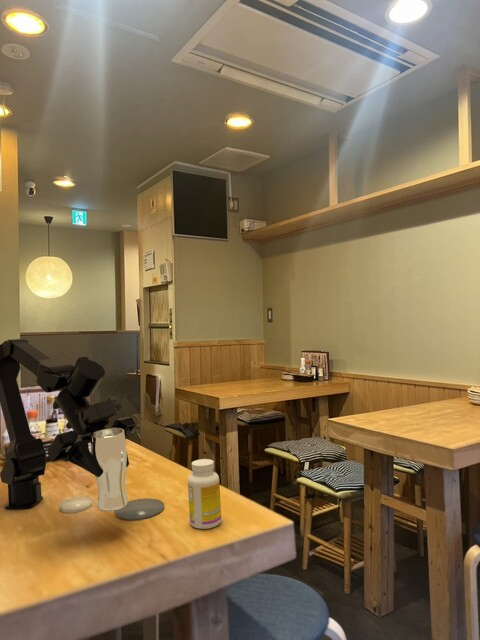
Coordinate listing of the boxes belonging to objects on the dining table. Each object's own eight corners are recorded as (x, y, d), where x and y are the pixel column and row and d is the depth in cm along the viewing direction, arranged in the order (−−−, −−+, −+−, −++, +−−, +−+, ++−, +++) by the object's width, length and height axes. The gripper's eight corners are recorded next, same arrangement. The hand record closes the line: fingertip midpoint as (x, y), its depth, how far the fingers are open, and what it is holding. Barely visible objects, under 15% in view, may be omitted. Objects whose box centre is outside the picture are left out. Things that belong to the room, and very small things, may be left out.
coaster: (108, 521, 103) (108, 518, 103) (123, 501, 114) (123, 499, 114) (158, 519, 102) (158, 516, 102) (168, 500, 113) (168, 497, 113)
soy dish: (57, 514, 108) (57, 508, 108) (63, 504, 115) (63, 498, 115) (89, 512, 109) (89, 505, 109) (93, 501, 116) (93, 495, 116)
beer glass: (122, 513, 92) (116, 437, 92) (88, 512, 94) (83, 437, 93) (135, 497, 99) (130, 427, 98) (104, 497, 100) (99, 427, 100)
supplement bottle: (227, 519, 101) (224, 459, 101) (211, 532, 95) (208, 468, 95) (200, 514, 104) (197, 456, 104) (183, 527, 98) (180, 465, 98)
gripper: (53, 393, 91) (92, 459, 84) (129, 380, 106) (166, 435, 99) (32, 429, 95) (67, 494, 89) (107, 412, 110) (142, 466, 104)
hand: (114, 470), depth 95 cm, fingers closed on beer glass, 6 cm apart
